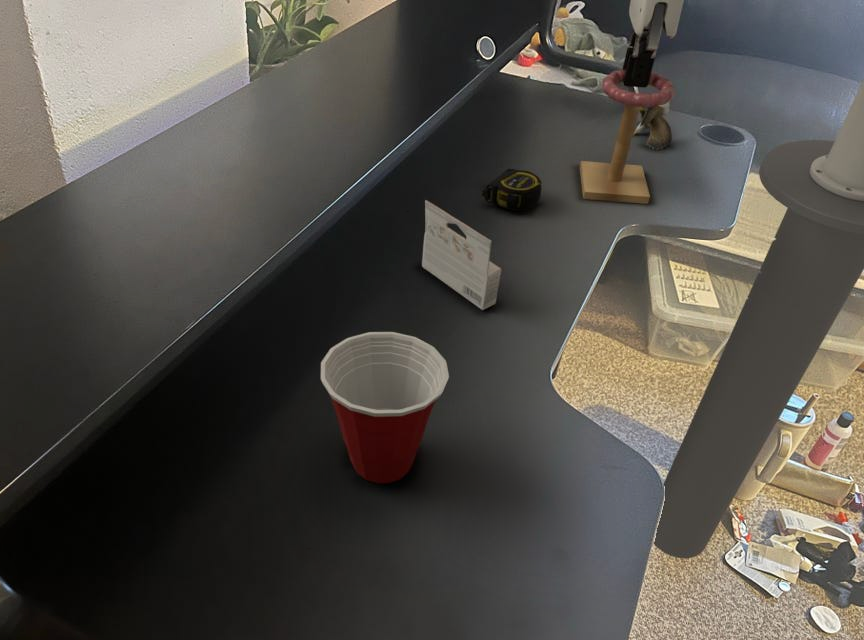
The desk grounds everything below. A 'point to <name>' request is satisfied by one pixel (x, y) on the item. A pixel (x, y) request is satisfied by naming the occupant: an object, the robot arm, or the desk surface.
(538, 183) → the tape measure
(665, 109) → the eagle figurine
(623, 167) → the stand
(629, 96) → the ring
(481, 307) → the ink cartridge box
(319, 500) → the desk surface
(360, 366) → the plastic cup
